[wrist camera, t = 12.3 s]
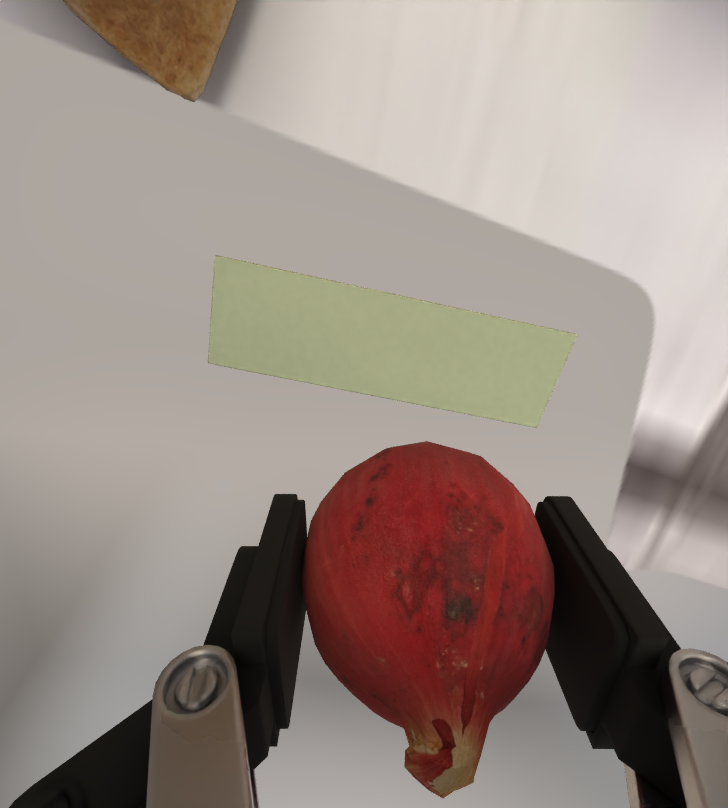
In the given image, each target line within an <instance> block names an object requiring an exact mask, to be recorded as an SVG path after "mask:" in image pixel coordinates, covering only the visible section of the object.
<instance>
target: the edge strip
mask: <svg viewBox="0 0 728 808" xmlns="http://www.w3.org/2000/svg"><path fill="white" fill-rule="evenodd" d="M576 337H577V335H576V334H574V333H569V332H565V331H560V330H556V329H551V328H546V327H542V326H537V325H533V324H528V323H524V322H519V321H514V320H510V319H505V318H501V317H496V316H492V315H487V314H482V313H478V312H473V311H469V310H464V309H459V308H455V307H450V306H446V305H441V304H437V303H432V302H428V301H423V300H418V299H414V298H409V297H405V296H400V295H396V294H391V293H386V292H382V291H377V290H372V289H368V288H364V287H358V286H354V285H350V284H345V283H341V282H336V281H331V280H327V279H322V278H318V277H313V276H309V275H304V274H299V273H295V272H290V271H286V270H281V269H276V268H272V267H268V266H263V265H258V264H254V263H249V262H245V261H240V260H236V259H231V258H226V257H221V256H215V261H214V277H213V293H212V308H211V324H210V339H209V340H210V341H209V355H208V363H210V364H215V365H219V366H224V367H229V368H235V369H240V370H245V371H250V372H255V373H260V374H265V375H270V376H276V377H280V378H286V379H290V380H296V381H301V382H306V383H311V384H316V385H321V386H327V387H332V388H336V389H341V390H346V391H352V392H356V393H362V394H367V395H372V396H377V397H382V398H387V399H392V400H397V401H402V402H407V403H413V404H417V405H423V406H428V407H433V408H438V409H443V410H448V411H453V412H458V413H464V414H468V415H474V416H479V417H483V418H489V419H494V420H499V421H504V422H509V423H514V424H519V425H524V426H529V427H534V428H537V426H538V424H539V422H540V419H541V417H542V415H543V412H544V410H545V408H546V406H547V403H548V401H549V399H550V397H551V394H552V392H553V390H554V387H555V385H556V383H557V380H558V378H559V376H560V374H561V371H562V369H563V367H564V364H565V362H566V360H567V358H568V355H569V353H570V351H571V348H572V346H573V344H574V341H575V339H576Z"/></svg>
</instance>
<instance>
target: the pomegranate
mask: <svg viewBox="0 0 728 808" xmlns="http://www.w3.org/2000/svg"><path fill="white" fill-rule="evenodd" d="M301 584H302V590H303V595H304V601H305V606H306V610H307V614H308V618H309V622H310V626H311V630H312V634H313V638H314V642H315V645H316V647H317V649H318V651H319V653H320V654H321V656H322V658H323V660H324V662H325V664H326V665H327V666H328V667H329V669H330V670H331V671H332V673H333V674H334V675H335V676H336V677H337V679H338V680H339V681H340V682H341V683H343V685H344V686H345V687H346V688H347V689H348V690H349V691H350V692H351V693H352V694H353V695H354V696H355V697H357V698H358V699H359V700H360V701H361V702H362V703H364V704H365V705H366V706H367V707H368V708H369V709H371V710H372V711H373V712H374V713H376V714H378V715H379V716H381V717H382V718H384V719H386V720H387V721H389V722H391V723H393V724H395V725H398V726H400V727H403V728H404V730H405V733H406V736H407V739H408V743H409V747H408V748H407V749H406V750H405V768H406V769H407V770H408V771H409V772H410V773H411V774H412V775H413V777H414V778H415V779H417V780H418V781H419V782H420V783H421V784H422V785H423V786H425V787H426V788H427V789H428V790H429V791H431V792H433V793H435V794H436V795H438V796H440V797H441V798H444V797H446V796H447V795H449V794H450V793H452V792H453V791H454V790H458V789H461V788H463V787H465V786H467V785H469V784H471V783H473V782H474V776H475V772H476V769H477V766H478V762H479V759H480V756H481V752H482V749H483V745H484V741H485V738H486V734H487V730H488V726H489V723H490V721H491V720H492V719H493V717H494V716H495V715H496V714H497V713H499V712H500V711H502V710H503V709H505V707H506V706H507V705H508V704H509V703H510V702H511V701H512V700H513V699H514V698H515V697H516V696H517V695H518V694H519V692H520V691H521V690H522V689H523V688H524V686H525V685H526V684H527V683H528V682H529V680H530V679H531V677H532V675H533V673H534V672H535V670H536V668H537V667H538V665H539V663H540V661H541V658H542V656H543V653H544V651H545V648H546V646H547V642H548V636H549V630H550V624H551V617H552V609H553V602H554V595H555V582H554V565H553V562H552V559H551V556H550V554H549V551H548V548H547V545H546V542H545V540H544V537H543V535H542V532H541V530H540V528H539V525H538V523H537V520H536V518H535V516H534V513H533V511H532V509H531V506H530V504H529V503H528V502H527V500H526V499H525V498H524V497H523V496H522V494H521V493H520V492H519V491H518V490H517V488H516V487H515V486H514V485H513V484H512V483H511V482H510V481H509V480H508V479H507V478H505V477H504V476H503V475H502V474H501V473H500V472H498V471H497V470H496V469H495V468H494V467H493V466H491V465H490V464H489V463H488V462H487V461H486V460H485V459H483V458H482V457H481V456H478V455H475V454H472V453H469V452H465V451H462V450H457V449H454V448H450V447H446V446H442V445H439V444H435V443H431V442H427V441H426V442H420V443H415V444H409V445H403V446H397V447H391V448H387V449H384V450H382V451H381V452H379V453H377V454H376V455H374V456H372V457H371V458H369V459H367V460H366V461H364V462H362V463H360V464H359V465H357V466H355V467H354V468H352V469H350V470H349V471H347V472H346V473H344V475H343V476H342V477H341V478H340V480H339V481H338V482H337V483H336V484H335V486H334V487H333V488H332V489H331V490H330V492H329V493H328V494H327V495H326V496H325V498H324V499H323V500H322V501H321V503H320V505H319V507H318V509H317V511H316V512H315V515H314V516H313V518H312V520H311V524H310V528H309V532H308V537H307V541H306V546H305V550H304V555H303V565H302V580H301Z"/></svg>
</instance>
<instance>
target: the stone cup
mask: <svg viewBox="0 0 728 808" xmlns="http://www.w3.org/2000/svg"><path fill="white" fill-rule="evenodd" d="M63 1H64V3H65V5H66V6H67V7H68V8H69V9H70V10H71V11H72V12H73V13H74V14H75V15H76V16H77V17H79V18H80V19H81V20H82V21H83V22H84V23H86V24H87V25H88V26H89V27H90V28H92V29H93V30H94V31H95V32H96V33H98V34H99V35H100V36H101V37H102V38H103V39H104V40H106V41H107V42H108V43H109V44H110V45H111V46H112V47H113V48H114V49H115V50H116V51H117V52H119V53H120V54H121V55H122V56H124V57H125V58H126V59H127V60H129V61H130V62H131V63H133V64H134V65H135V66H137V67H138V68H139V69H141V70H142V71H143V72H144V73H146V74H147V75H148V76H150V77H151V78H152V79H154V80H155V81H156V82H157V83H159V84H160V85H161V86H162V87H164V88H165V89H166V90H168V91H170V92H173V93H175V94H177V95H180V96H181V97H183V98H184V99H187V100H190V101H193V102H195V101H196V100H197V99H198V97H199V96H200V95H201V94H202V92H203V90H204V88H205V85H206V83H207V80H208V78H209V76H210V73H211V71H212V68H213V65H214V62H215V59H216V57H217V54H218V51H219V47H220V44H221V42H222V40H223V38H224V36H225V34H226V32H227V29H228V26H229V23H230V20H231V17H232V14H233V11H234V8H235V6H236V3H237V0H63Z"/></svg>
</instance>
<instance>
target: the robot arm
mask: <svg viewBox="0 0 728 808" xmlns="http://www.w3.org/2000/svg"><path fill="white" fill-rule="evenodd" d="M535 518H536V520H537V523H538V525H539V528H540V530H541V532H542V535H543V537H544V540H545V542H546V545H547V548H548V551H549V554H550V556H551V559H552V562H553V565H554V582H555V595H554V602H553V609H552V617H551V624H550V630H549V636H548V642H547V646H546V648H545V649H546V651H547V654H548V657H549V659H550V661H551V664H552V666H553V669H554V671H555V674H556V676H557V679H558V681H559V684H560V686H561V689H562V691H563V694H564V696H565V699H566V701H567V703H568V706H569V709H570V711H571V714H572V716H573V719H574V721H575V723H576V725H577V727H578V728H579V729H580V730H581V731H586V733H587V735H588V738H589V740H590V743H591V745H592V748H593V749H614V750H615V752H616V754H617V757H618V759H619V760H621V761H622V762H623V763H624V767H625V773H626V781H627V789H628V796H629V803H630V808H728V662H726V661H724V660H722V659H721V658H719V657H717V656H715V655H712V654H710V653H707V652H705V651H701V650H696V649H681V648H680V647H679V645H678V644H677V643H676V641H675V640H674V638H673V637H672V636H671V634H670V633H669V631H668V630H667V628H666V627H665V626H664V624H663V623H662V621H661V620H660V618H659V617H658V616H657V614H656V613H655V611H654V610H653V609H652V607H651V606H650V604H649V603H648V601H647V600H646V599H645V597H644V596H643V595H642V593H641V592H640V590H639V589H638V587H637V586H636V585H635V583H634V582H633V580H632V579H631V577H630V576H629V575H628V573H627V572H626V570H625V569H624V567H623V566H622V565H621V563H620V562H619V560H618V559H617V558H616V556H615V555H614V554H613V553H612V552H611V551H609V550H608V549H607V548H606V546H605V545H604V543H603V542H602V541H601V539H600V538H599V536H598V535H597V533H596V532H595V531H594V529H593V528H592V526H591V525H590V523H589V522H588V521H587V519H586V518H585V516H584V515H583V513H582V512H581V511H580V509H579V508H578V506H577V505H576V504H575V502H574V500H573V499H572V498H571V497H568V496H560V497H559V496H547V497H545V499H544V501H543V502H539V503H538V504H537V507H536V512H535ZM306 541H307V527H306V511H305V501H304V500H298V499H297V495H296V494H275V495H274V497H273V501H272V504H271V507H270V510H269V514H268V517H267V520H266V523H265V527H264V530H263V533H262V536H261V540H260V543H259V546H241V547H240V548H239V550H238V552H237V554H236V557H235V560H234V563H233V566H232V568H231V571H230V574H229V576H228V579H227V582H226V585H225V587H224V590H223V593H222V596H221V598H220V601H219V604H218V607H217V609H216V612H215V615H214V617H213V620H212V623H211V626H210V628H209V631H208V634H207V637H206V640H205V642H204V645H203V646H198V647H194V648H191V649H189V650H187V651H185V652H183V653H181V654H180V655H178V656H177V657H176V658H174V659H173V660H172V661H171V662H170V663H169V664H168V665H167V666H166V667H165V668H164V670H163V671H162V672H161V674H160V676H159V678H158V680H157V682H156V684H155V689H154V693H153V699H152V700H151V701H150V702H148V703H147V704H145V705H144V706H143V707H141V708H140V709H139V710H137V711H136V712H134V713H133V714H132V715H130V716H129V717H128V718H126V719H124V720H123V721H122V722H120V723H119V724H118V725H116V726H115V727H113V728H112V729H111V730H109V731H108V732H106V733H105V734H104V735H102V736H101V737H100V738H98V739H97V740H95V741H94V742H92V743H91V744H90V745H88V746H87V747H85V748H84V749H83V750H81V751H80V752H78V753H77V754H76V755H74V756H73V757H72V758H70V759H69V760H67V761H66V762H65V763H63V764H62V765H60V766H59V767H58V768H56V769H55V770H53V771H52V772H51V773H49V774H48V775H46V776H45V777H44V778H42V779H41V780H40V781H38V782H37V783H35V784H34V785H33V786H32V787H30V788H29V789H28V790H27V791H25V792H24V793H23V794H22V795H21V796H20V797H18V798H17V799H16V800H15V801H14V802H13V804H12V805H11V806H10V807H9V808H259V802H258V794H257V787H256V779H255V770H254V769H255V768H256V767H257V766H258V765H259V764H260V763H261V762H262V761H263V760H264V759H265V758H266V757H267V756H268V751H269V746H277V743H278V736H279V731H280V729H287V728H288V727H289V723H290V717H291V710H292V703H293V696H294V689H295V682H296V675H297V669H298V662H299V655H300V648H301V640H302V634H303V627H304V620H305V613H306V606H305V601H304V595H303V590H302V584H301V580H302V565H303V555H304V550H305V546H306Z"/></svg>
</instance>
